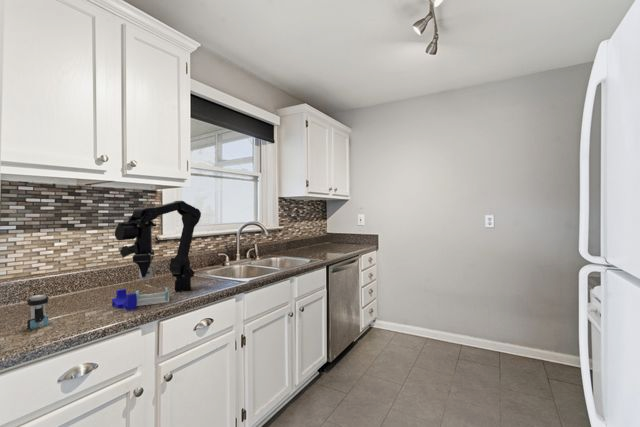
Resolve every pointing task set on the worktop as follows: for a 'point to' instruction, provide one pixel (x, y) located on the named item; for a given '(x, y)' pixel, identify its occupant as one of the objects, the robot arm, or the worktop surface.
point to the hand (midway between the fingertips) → (144, 275)
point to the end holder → (152, 298)
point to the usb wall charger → (148, 275)
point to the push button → (37, 311)
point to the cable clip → (125, 300)
